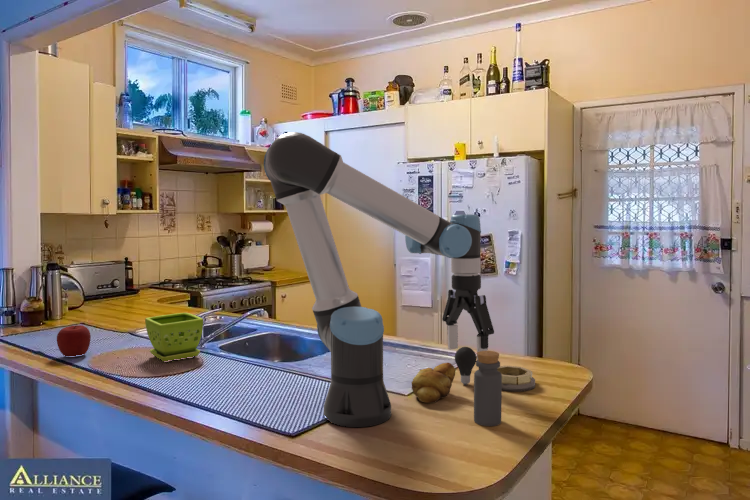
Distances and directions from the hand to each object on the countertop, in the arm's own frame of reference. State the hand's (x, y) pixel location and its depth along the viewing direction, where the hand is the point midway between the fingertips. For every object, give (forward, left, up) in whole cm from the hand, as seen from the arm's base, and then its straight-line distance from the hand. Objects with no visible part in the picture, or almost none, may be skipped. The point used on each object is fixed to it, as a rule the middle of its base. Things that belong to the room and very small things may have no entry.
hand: (467, 354), depth 144 cm
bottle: (-10, -23, -8) cm, 27 cm away
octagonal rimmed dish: (+11, -5, -8) cm, 14 cm away
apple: (-96, +77, -8) cm, 124 cm away
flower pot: (-67, +62, -8) cm, 92 cm away
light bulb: (0, 0, -8) cm, 8 cm away
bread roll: (-14, -4, -8) cm, 16 cm away
